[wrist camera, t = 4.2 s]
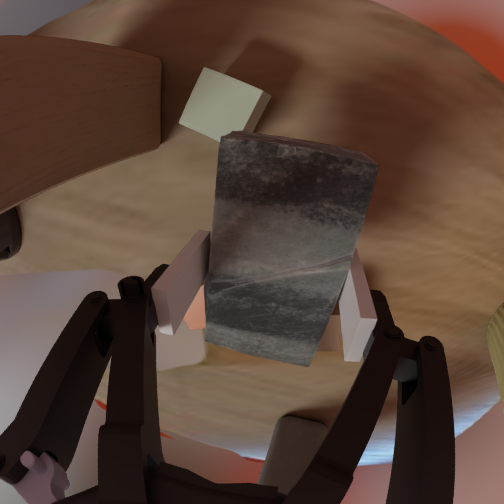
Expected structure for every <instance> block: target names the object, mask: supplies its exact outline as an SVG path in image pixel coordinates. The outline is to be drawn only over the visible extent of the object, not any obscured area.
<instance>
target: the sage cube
mask: <svg viewBox="0 0 504 504" xmlns="http://www.w3.org/2000/svg"><path fill="white" fill-rule="evenodd" d="M271 97H272V96H271V95H269V94H268V93H266V92H264V91H262V90H260V89H258V88H256V87H254V86H251V85H249V84H247V83H244V82H242V81H239V80H237V79H235V78H232V77H230V76H227V75H224V74H222V73H219V72H217V71H214V70H211V69H208V68H206V67H204V68H203V70H202V72H201V74H200V76H199V78H198V80H197V82H196V85H195V87H194V89H193V91H192V93H191V95H190V98H189V100H188V102H187V104H186V107H185V109H184V111H183V114H182V116H181V118H180V121H179V124H181V125H183V126H186V127H188V128H190V129H193V130H195V131H197V132H199V133H201V134H204V135H206V136H208V137H210V138H212V139H214V140H216V141H219V142H220V139H221V136H224V135H227V134H229V133H231V132H232V131H247V132H250V133H253V131H254V129H255V127H256V125H257V123H258V121H259V119H260V117H261V115H262V114H263V112H264V110H265V108H266V106H267V104H268V102H269V100H270V98H271Z"/></svg>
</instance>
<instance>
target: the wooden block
mask: <svg viewBox="0 0 504 504" xmlns="http://www.w3.org/2000/svg"><path fill="white" fill-rule="evenodd" d="M161 76H162V63H161V60H160V58H159V57H155V56H152V55H148V54H144V53H140V52H136V51H132V50H128V49H123V48H119V47H114V46H109V45H104V44H99V43H93V42H87V41H80V40H73V39H65V38H55V37H42V36H19V35H6V36H0V214H2V213H4V212H5V211H7V210H9V209H11V208H13V207H15V206H17V205H19V204H20V203H22V202H24V201H26V200H28V199H30V198H32V197H35V196H37V195H39V194H41V193H43V192H45V191H47V190H49V189H52V188H54V187H56V186H58V185H61V184H63V183H65V182H68V181H70V180H72V179H75V178H77V177H80V176H82V175H85V174H87V173H90V172H92V171H95V170H98V169H100V168H103V167H106V166H109V165H111V164H114V163H117V162H120V161H123V160H126V159H129V158H132V157H135V156H138V155H141V154H144V153H148V152H151V151H153V150H155V149H157V148H158V147H159V145H160V142H161Z"/></svg>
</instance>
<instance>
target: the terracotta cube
mask: <svg viewBox="0 0 504 504" xmlns="http://www.w3.org/2000/svg"><path fill="white" fill-rule="evenodd" d="M204 284H205V281H204V282H203V284H202V286H201V288H200V289H199V291H198V293H197V295H196V296H195V298H194V300H193V302H192V304H191V305H190V307H189V309H188V311H187V312H186V314H185V316H184V318H183V319H184V320H185V322H186V324H187V325H188V327H189V328H190V329H191V330H194V329H201V328H205V321H206V318H205V300H204Z"/></svg>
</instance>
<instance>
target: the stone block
mask: <svg viewBox="0 0 504 504" xmlns="http://www.w3.org/2000/svg"><path fill="white" fill-rule="evenodd" d="M378 167H379V165H378V164H377V163H376V162H374V161H373V160H372V159H371V158H369V157H368V156H367V155H365V154H364V153H363V152H361V151H359V150H353V149H348V148H344V147H339V146H333V145H328V144H323V143H318V142H312V141H306V140H300V139H294V138H289V137H282V136H273V135H265V134H260V133H250V132H247V131H232V132H231V133H229V134H227V135H224V136H221V139H220V145H219V153H218V165H217V177H216V190H215V205H214V213H213V225H212V236H211V248H210V262H209V274H208V275H207V277H206V279H205V284H204V300H205V318H206V321H205V341H206V342H208V343H212V344H215V345H218V346H222V347H226V348H229V349H232V350H235V351H238V352H241V353H244V354H248V355H251V356H256V357H261V358H266V359H272V360H276V361H281V362H285V363H290V364H295V365H300V366H306V367H308V366H310V364H311V361H312V359H313V357H314V355H315V353H316V350H317V348H318V346H319V344H320V341H321V339H322V337H323V334H324V331H325V329H326V326H327V324H328V322H329V319H330V316H331V314H332V312H333V309H334V307H335V305H336V302H337V299H338V297H339V294H340V292H341V289H342V286H343V284H344V281H345V278H346V276H347V273H348V270H349V269H350V267H351V264H352V260H353V253H354V250H355V247H356V244H357V241H358V238H359V235H360V231H361V228H362V225H363V222H364V219H365V215H366V212H367V208H368V205H369V201H370V198H371V195H372V191H373V187H374V183H375V179H376V175H377V171H378Z"/></svg>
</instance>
